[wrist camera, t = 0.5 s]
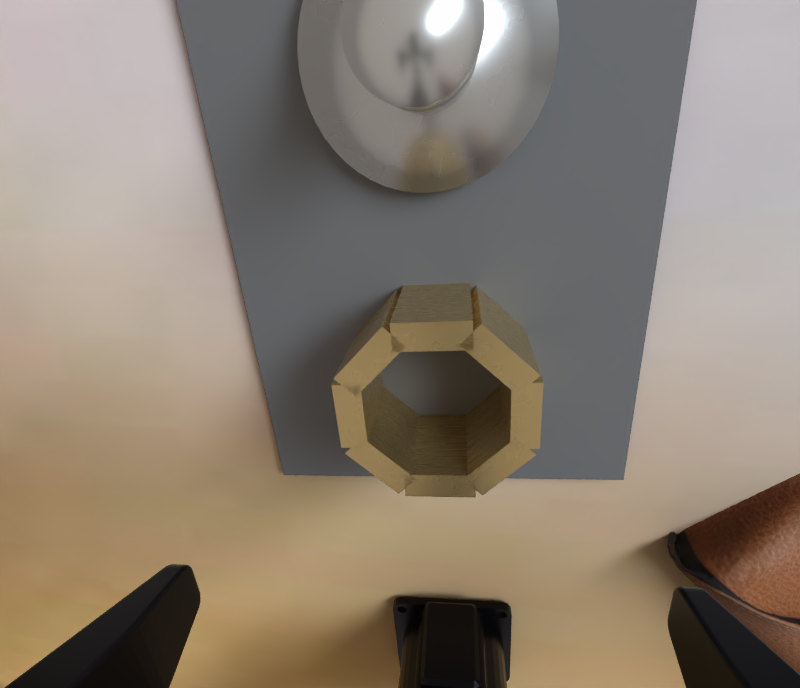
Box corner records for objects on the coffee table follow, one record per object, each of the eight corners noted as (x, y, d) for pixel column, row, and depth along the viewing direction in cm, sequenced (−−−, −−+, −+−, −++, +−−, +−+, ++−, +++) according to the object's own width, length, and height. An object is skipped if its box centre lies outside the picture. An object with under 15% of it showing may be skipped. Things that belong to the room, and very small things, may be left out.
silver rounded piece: (546, 182, 16) (584, 202, 11) (323, 197, 17) (272, 221, 12) (562, -124, 13) (625, -277, 8) (284, -81, 14) (194, -194, 9)
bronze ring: (522, 433, 20) (537, 498, 17) (367, 433, 21) (348, 494, 18) (528, 280, 17) (547, 318, 14) (348, 287, 18) (321, 325, 15)
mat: (620, 473, 21) (623, 479, 21) (286, 469, 23) (283, 474, 23) (719, -191, 12) (727, -201, 12) (160, -97, 14) (152, -104, 14)
